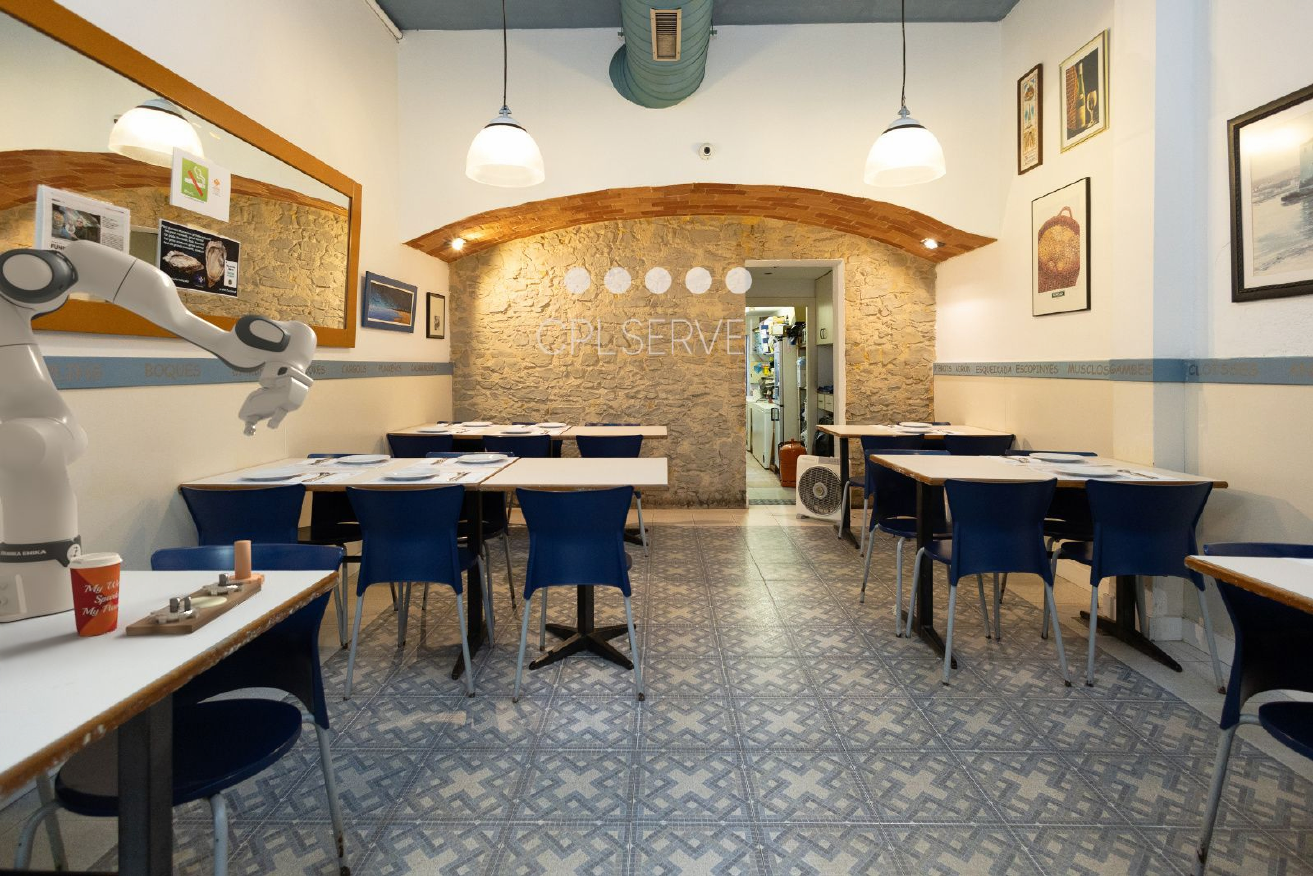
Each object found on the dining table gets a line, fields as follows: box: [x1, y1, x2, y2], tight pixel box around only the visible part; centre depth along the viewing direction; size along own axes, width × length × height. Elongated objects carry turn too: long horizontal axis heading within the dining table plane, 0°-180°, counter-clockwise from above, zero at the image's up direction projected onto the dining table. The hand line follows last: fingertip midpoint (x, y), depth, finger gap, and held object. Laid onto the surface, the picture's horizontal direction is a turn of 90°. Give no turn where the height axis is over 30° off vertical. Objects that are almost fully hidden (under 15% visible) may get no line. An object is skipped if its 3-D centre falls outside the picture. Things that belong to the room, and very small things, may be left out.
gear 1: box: [148, 596, 200, 624], centre depth 124 cm, size 8×8×4 cm
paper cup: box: [67, 551, 123, 637], centre depth 120 cm, size 8×8×14 cm
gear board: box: [125, 584, 262, 636], centre depth 133 cm, size 11×28×2 cm, turn 8°
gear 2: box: [201, 573, 245, 596], centre depth 141 cm, size 8×8×4 cm
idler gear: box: [228, 540, 265, 585], centre depth 152 cm, size 8×8×10 cm
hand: (259, 431), depth 151 cm, fingers open, 8 cm apart
